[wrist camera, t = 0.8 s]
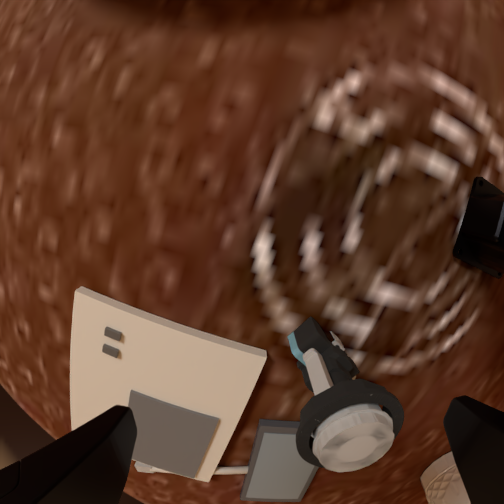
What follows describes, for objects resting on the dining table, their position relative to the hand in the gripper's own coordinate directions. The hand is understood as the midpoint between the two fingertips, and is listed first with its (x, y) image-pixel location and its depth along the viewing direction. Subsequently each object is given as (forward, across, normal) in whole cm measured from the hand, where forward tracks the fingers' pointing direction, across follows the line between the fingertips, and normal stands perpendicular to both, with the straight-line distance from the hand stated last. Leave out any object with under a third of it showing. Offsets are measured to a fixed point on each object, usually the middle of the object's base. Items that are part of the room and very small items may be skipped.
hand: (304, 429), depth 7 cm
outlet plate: (+13, +9, +11) cm, 19 cm away
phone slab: (+13, -2, +18) cm, 23 cm away
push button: (+13, -4, +6) cm, 15 cm away
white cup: (+14, -23, +25) cm, 37 cm away
